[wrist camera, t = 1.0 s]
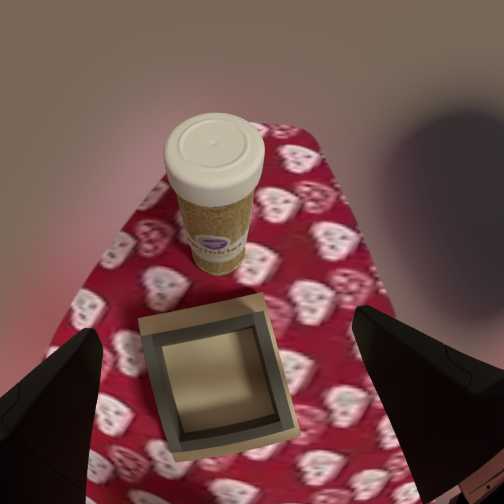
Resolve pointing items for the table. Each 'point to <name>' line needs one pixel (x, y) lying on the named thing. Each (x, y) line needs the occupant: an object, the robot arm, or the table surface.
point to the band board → (218, 378)
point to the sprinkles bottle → (215, 185)
